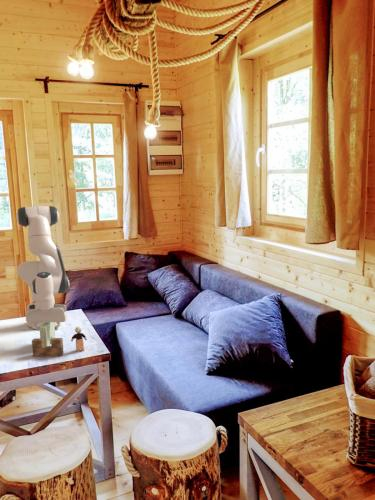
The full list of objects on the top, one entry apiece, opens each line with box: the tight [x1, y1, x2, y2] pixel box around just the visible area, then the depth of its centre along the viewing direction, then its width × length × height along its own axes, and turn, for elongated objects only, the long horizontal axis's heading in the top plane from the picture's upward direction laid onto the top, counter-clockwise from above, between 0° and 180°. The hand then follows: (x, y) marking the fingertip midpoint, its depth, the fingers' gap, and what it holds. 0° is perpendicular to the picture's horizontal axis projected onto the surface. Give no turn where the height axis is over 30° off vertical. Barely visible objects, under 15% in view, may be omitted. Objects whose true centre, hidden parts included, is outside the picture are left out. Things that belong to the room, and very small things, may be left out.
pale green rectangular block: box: [39, 322, 56, 346], centre depth 221 cm, size 14×3×12 cm, turn 1°
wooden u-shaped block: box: [31, 337, 65, 357], centre depth 209 cm, size 14×3×8 cm, turn 91°
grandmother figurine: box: [70, 325, 88, 353], centre depth 213 cm, size 8×4×13 cm, turn 117°
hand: (47, 330), depth 221 cm, fingers open, 8 cm apart
